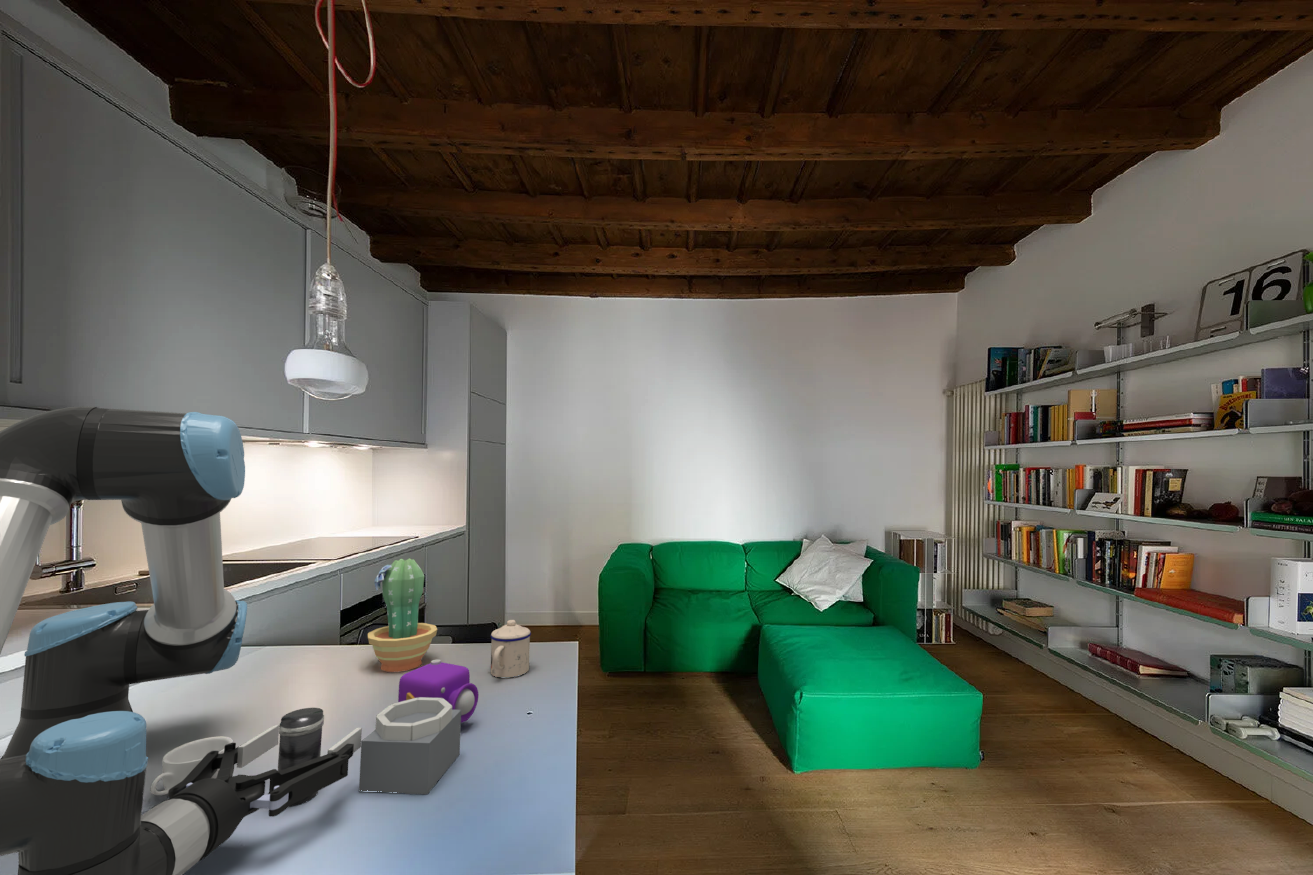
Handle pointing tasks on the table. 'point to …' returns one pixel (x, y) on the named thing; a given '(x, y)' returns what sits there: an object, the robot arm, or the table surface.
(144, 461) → the robot arm
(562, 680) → the table surface
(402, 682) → the toy camera
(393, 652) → the potted cactus
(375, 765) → the camera body block
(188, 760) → the teacup
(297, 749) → the lens
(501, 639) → the teacup with lid
